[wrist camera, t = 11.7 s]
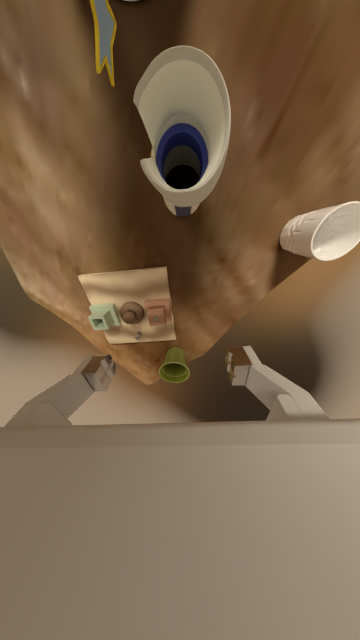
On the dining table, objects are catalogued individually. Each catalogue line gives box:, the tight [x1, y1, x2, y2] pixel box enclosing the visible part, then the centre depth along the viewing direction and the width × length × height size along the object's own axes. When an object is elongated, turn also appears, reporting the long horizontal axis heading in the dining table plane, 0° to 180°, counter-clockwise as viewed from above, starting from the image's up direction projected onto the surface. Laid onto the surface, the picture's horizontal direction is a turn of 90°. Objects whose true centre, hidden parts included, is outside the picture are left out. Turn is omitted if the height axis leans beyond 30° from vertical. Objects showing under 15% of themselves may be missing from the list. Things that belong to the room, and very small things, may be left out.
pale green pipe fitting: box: [88, 303, 122, 330], centre depth 38 cm, size 6×6×5 cm
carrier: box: [78, 266, 176, 344], centre depth 38 cm, size 22×22×7 cm
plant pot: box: [159, 347, 190, 383], centre depth 46 cm, size 9×9×9 cm
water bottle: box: [90, 0, 231, 217], centre depth 17 cm, size 8×8×25 cm
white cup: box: [280, 201, 360, 261], centre depth 26 cm, size 8×8×10 cm
